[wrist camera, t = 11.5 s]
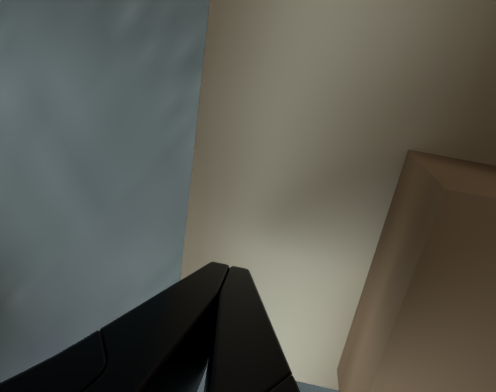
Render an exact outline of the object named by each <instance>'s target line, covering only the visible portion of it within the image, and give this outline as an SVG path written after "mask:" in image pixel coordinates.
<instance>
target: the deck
mask: <svg viewBox="0 0 496 392" xmlns="http://www.w3.org/2000/svg"><path fill="white" fill-rule="evenodd" d="M408 150H413V151H418V152H424V153H429V154H435V155H440V156H446V157H451V158H456V159H462V160H467V161H473V162H478V163H483V164H489V165H494V166H496V0H210V5H209V14H208V23H207V33H206V42H205V52H204V61H203V70H202V80H201V89H200V99H199V108H198V117H197V127H196V136H195V146H194V155H193V165H192V174H191V183H190V193H189V202H188V212H187V221H186V230H185V240H184V249H183V259H182V268H181V277H180V280H182V279H183V278H185V277H187V276H188V275H190V274H192V273H193V272H195V271H197V270H198V269H200V268H202V267H203V266H205V265H206V264H208V263H210V262H218V263H223V264H227V265H229V267H231V266H237V267H242V268H246V269H248V270H249V271H250V273H251V276H252V278H253V280H254V283H255V285H256V288H257V290H258V292H259V295H260V297H261V300H262V302H263V304H264V307H265V309H266V312H267V314H268V316H269V319H270V321H271V324H272V326H273V328H274V331H275V333H276V336H277V338H278V340H279V343H280V345H281V348H282V350H283V352H284V355H285V357H286V360H287V362H288V364H289V367H290V369H291V372H292V376H293V377H294V378H295V381H299V382H304V383H308V384H313V385H317V386H321V387H326V388H330V389H334V390H339V387H338V377H337V367H338V364H339V361H340V358H341V355H342V352H343V349H344V346H345V343H346V340H347V336H348V333H349V330H350V327H351V324H352V321H353V318H354V315H355V312H356V309H357V306H358V303H359V300H360V296H361V293H362V290H363V287H364V284H365V281H366V278H367V275H368V272H369V269H370V266H371V263H372V259H373V256H374V253H375V250H376V247H377V244H378V241H379V238H380V235H381V232H382V229H383V226H384V223H385V219H386V216H387V213H388V210H389V207H390V204H391V201H392V198H393V195H394V192H395V189H396V186H397V182H398V179H399V176H400V173H401V170H402V167H403V164H404V161H405V158H406V155H407V152H408Z"/></svg>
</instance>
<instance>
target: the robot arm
mask: <svg viewBox="0 0 496 392" xmlns="http://www.w3.org/2000/svg"><path fill="white" fill-rule="evenodd" d="M207 364H208V366H207ZM206 367H207V372H206V379H205V386H204V392H300V390H299V388H298V386H297V383H296V381H295V378H294V377H293V376H292V372H291V369H290V367H289V364H288V362H287V360H286V357H285V355H284V352H283V350H282V348H281V345H280V343H279V340H278V338H277V336H276V333H275V331H274V328H273V326H272V324H271V321H270V319H269V316H268V314H267V312H266V309H265V307H264V304H263V302H262V300H261V297H260V295H259V292H258V290H257V288H256V285H255V283H254V280H253V278H252V276H251V273H250V271H249V270H248V269H246V268H242V267H237V266H231V267H229V265H227V264H223V263H218V262H210V263H208V264H206V265H205V266H203V267H202V268H200V269H198V270H197V271H195V272H193V273H192V274H190V275H188V276H187V277H185V278H183V279H182V280H180V281H178V282H177V283H175V284H174V285H172V286H170V287H169V288H167V289H165V290H164V291H162V292H160V293H159V294H157V295H155V296H154V297H152V298H150V299H149V300H147V301H145V302H144V303H142V304H141V305H139V306H137V307H136V308H134V309H132V310H131V311H129V312H127V313H126V314H124V315H122V316H121V317H119V318H117V319H116V320H114V321H113V322H111V323H109V324H108V325H106V326H104V327H103V328H101V329H100V331H96V332H94V333H92V334H91V335H89V336H88V337H86V338H84V339H83V340H81V341H79V342H77V343H76V344H74V345H72V346H70V347H69V348H67V349H65V350H63V351H62V352H60V353H58V354H56V355H55V356H53V357H51V358H49V359H47V360H45V361H43V362H41V363H39V364H37V365H35V366H33V367H31V368H29V369H28V370H26V371H24V372H22V373H20V374H18V375H16V376H14V377H11V378H9V379H7V380H5V381H3V382H1V383H0V392H197V390H198V388H199V385H200V383H201V380H202V378H203V375H204V372H205V370H206Z"/></svg>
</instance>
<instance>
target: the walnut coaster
mask: <svg viewBox="0 0 496 392" xmlns="http://www.w3.org/2000/svg"><path fill="white" fill-rule="evenodd" d="M337 377H338V387H339V392H496V166H494V165H489V164H483V163H478V162H473V161H467V160H462V159H456V158H451V157H446V156H440V155H435V154H429V153H424V152H418V151H413V150H408V152H407V155H406V158H405V161H404V164H403V167H402V170H401V173H400V176H399V179H398V182H397V186H396V189H395V192H394V195H393V198H392V201H391V204H390V207H389V210H388V213H387V216H386V219H385V223H384V226H383V229H382V232H381V235H380V238H379V241H378V244H377V247H376V250H375V253H374V256H373V259H372V263H371V266H370V269H369V272H368V275H367V278H366V281H365V284H364V287H363V290H362V293H361V296H360V300H359V303H358V306H357V309H356V312H355V315H354V318H353V321H352V324H351V327H350V330H349V333H348V336H347V340H346V343H345V346H344V349H343V352H342V355H341V358H340V361H339V364H338V367H337Z"/></svg>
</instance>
